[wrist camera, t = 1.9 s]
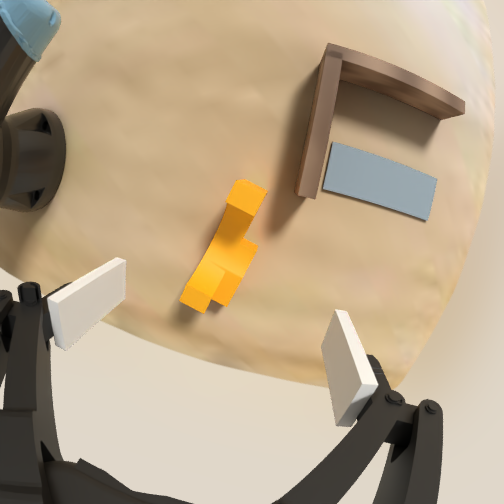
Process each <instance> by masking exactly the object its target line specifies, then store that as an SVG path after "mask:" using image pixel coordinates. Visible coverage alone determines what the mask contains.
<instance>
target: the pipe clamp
mask: <svg viewBox="0 0 504 504" xmlns="http://www.w3.org/2000/svg"><path fill="white" fill-rule="evenodd" d="M267 192H268V191H267V190H265V189H263V188H261V187H259V186H257V185H255V184H253V183H251V182H249V181H247V180H245V179H244V180H236V182H235V184H234V186H233V188H232V190H231V192H230V194H229V195H228V197H227V199H226V202H227V207H226V210H225V213H224V216H223V218H222V220H221V223H220V225H219V227H218V229H217V231H216V234H215V236H214V238H213V240H212V242H211V244H210V246H209V248H208V249H207V251H206V253H205V255H204V257H203V259H202V260H201V262H200V264H199V266H198V267H197V269H196V271H195V272H194V274H193V276H192V277H191V279H190V280H189V281H188V283H187V284H186V286H185V289H184V291H183V293H182V295H181V298H180V300H179V301H181V302H182V303H184V304H186V305H188V306H190V307H192V308H194V309H195V310H197V311H199V312H201V313H203V314H204V313H205V311H206V309H207V307H208V305H209V303H210V301H211V299H212V300H214V301H216V302H218V303H220V304H222V305H224V306H226V307H227V306H228V304H229V302H230V300H231V298H232V296H233V295H234V293H235V291H236V289H237V287H238V285H239V284H240V282H241V280H242V278H243V276H244V274H245V272H246V270H247V268H248V266H249V264H250V262H251V261H252V259H253V257H254V255H255V253H256V251H257V248H258V246H257V245H256V244H254V243H252V242H250V241H248V240H246V239H244V238H243V237H244V235H245V233H246V232H247V230H248V228H249V226H250V224H251V222H252V220H253V218H254V216H255V214H256V213H257V211H258V209H259V207H260V205H261V203H262V201H263V199H264V197H265V196H266V194H267Z"/></svg>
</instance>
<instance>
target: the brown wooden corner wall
mask: <svg viewBox="0 0 504 504" xmlns="http://www.w3.org/2000/svg"><path fill="white" fill-rule="evenodd" d="M339 80H343V81H346V82H349V83H352V84H356V85H359V86H362V87H365V88H368V89H370V90H373V91H376V92H379V93H381V94H384V95H386V96H389V97H392V98H394V99H396V100H399V101H401V102H404V103H406V104H408V105H410V106H413V107H415V108H417V109H419V110H421V111H424V112H426V113H428V114H430V115H432V116H434V117H436V118H438V119H440V120H443V119H447V118H451V117H455V116H459V115H463V114H465V101H463V100H462V99H460V98H458V97H457V96H455V95H453V94H451V93H450V92H448V91H446V90H444V89H443V88H441V87H439V86H437V85H435V84H433V83H431V82H430V81H428V80H426V79H424V78H422V77H420V76H417V75H415V74H413V73H411V72H409V71H407V70H404V69H402V68H400V67H398V66H395V65H393V64H390V63H388V62H385V61H383V60H380V59H378V58H375V57H372V56H369V55H366V54H364V53H361V52H358V51H354V50H351V49H348V48H345V47H341V46H338V45H334V44H331V43H328V44H327V47H326V49H325V52H324V54H323V57H322V60H321V62H320V67H319V73H318V78H317V84H316V89H315V94H314V99H313V104H312V110H311V115H310V120H309V125H308V129H307V134H306V139H305V144H304V149H303V154H302V158H301V163H300V168H299V172H298V177H297V181H296V186H295V190H294V192H295V193H296V194H297V195H299V196H303V197H308V198H312V199H316V194H317V190H318V186H319V181H320V177H321V172H322V167H323V163H324V158H325V153H326V148H327V144H328V139H329V134H330V128H331V123H332V118H333V113H334V107H335V102H336V96H337V90H338V84H339Z"/></svg>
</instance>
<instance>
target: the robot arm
mask: <svg viewBox="0 0 504 504" xmlns="http://www.w3.org/2000/svg"><path fill="white" fill-rule="evenodd" d="M60 24H61V16H60V13H59V12H58V11H57V10H56V9H55V8H54V7H53V6H52V5H50V4H49V3H48V2H47V1H46V0H0V207H1V208H6V209H10V210H15V211H20V212H29V211H33V210H37V209H40V208H42V207H44V206H45V205H46V204H47V203H48V202H49V201H50V200H51V199H52V197H53V196H54V194H55V192H56V190H57V188H58V186H59V183H60V180H61V177H62V173H63V169H64V163H65V154H66V143H65V134H64V129H63V126H62V123H61V121H60V119H59V118H58V116H57V115H56V114H55V113H54V112H52V111H50V110H47V109H40V108H32V109H28V110H25V111H21V112H18V113H15V114H12V115H9V116H6V115H7V113H8V111H9V109H10V107H11V105H12V103H13V101H14V99H15V97H16V95H17V93H18V91H19V89H20V88H21V86H22V84H23V82H24V81H25V79H26V77H27V76H28V74H29V72H30V71H31V69H32V68H33V66H34V65H35V63H36V62H39V60H40V59H41V55H42V53H43V52H44V50H45V49H46V47H47V46H48V44H49V43H50V41H51V40H52V38H53V37H54V36H55V34H56V33H57V31H58V30H59V27H60ZM125 284H126V260H124V259H121V258H117V257H116V258H114V259H113V260H111V261H109V262H107V263H105V264H104V265H102V266H100V267H98V268H97V269H95V270H93V271H91V272H90V273H88V274H86V275H84V276H83V277H81V278H79V279H78V280H76V281H74V282H70V283H67V284H64V285H63V286H61V287H59V288H58V289H56V290H55V291H53V292H51V293H49V294H48V295H46V296H44V297H43V298H41V290H40V285H39V284H38V283H36V282H25V283H22V284H20V285H19V286H18V295H19V300H20V302H17V301H13V298H12V293H11V292H10V291H7V290H0V387H1V384H2V381H3V379H4V376H5V374H6V378H5V389H4V404H3V410H1V409H0V504H192V503H189V502H185V501H181V500H178V499H175V498H171V497H168V496H161V495H153V494H146V493H141V492H135V491H132V490H130V489H129V488H127V487H126V486H125V485H123V484H122V483H120V482H119V481H118V480H116V479H115V478H113V477H112V476H111V475H109V474H108V473H107V472H105V471H104V470H102V469H99V468H97V467H96V466H94V465H92V464H90V463H88V462H86V461H84V460H82V459H81V458H80V459H79V461H78V462H77V463H73V462H69V461H64V460H63V458H62V456H61V453H60V449H59V444H58V439H57V432H56V425H55V418H54V410H53V401H52V389H51V364H50V363H51V361H50V341H49V339H50V338H52V337H53V336H54V340H55V345H56V346H58V347H60V348H61V349H63V350H65V351H66V350H68V349H69V348H70V347H71V346H72V345H73V344H74V343H75V342H76V341H78V340H79V339H80V338H81V337H82V336H83V335H84V334H85V333H86V332H88V331H89V330H90V329H91V328H92V327H93V326H94V325H95V324H96V323H98V322H99V321H100V320H101V319H102V318H103V317H104V316H106V315H107V314H108V313H109V312H110V311H111V310H113V309H114V308H115V307H116V306H117V305H118V304H119V303H121V302H122V301H123V300H124V299H125ZM321 349H322V353H323V358H324V363H325V368H326V373H327V379H328V384H329V389H330V394H331V400H332V406H333V411H334V417H335V423H336V426H346V427H351V426H352V425H353V423H354V422H355V421H356V419H357V421H358V422H357V423H356V425H355V426H354V427H353V428H352V429H351V430H350V432H349V433H348V434H347V435H346V436H345V437H344V438H343V440H342V441H341V442H340V443H339V444H338V445H337V446H336V447H335V448H334V449H333V451H332V452H330V454H329V455H328V456H327V457H326V458H325V459H324V460H323V461H322V462H321V463H320V464H319V465H318V466H316V468H314V469H313V470H312V471H311V472H310V473H309V474H308V475H307V476H306V477H305V478H304V479H303V480H301V482H299V483H298V484H297V485H296V486H295V487H293V488H292V489H291V490H290V491H289V492H288V493H286V494H285V495H284V496H283V497H282V498H280V499H279V500H277V501H275V502H273V503H272V504H337V503H338V502H339V501H340V499H341V498H342V497H343V496H344V495H345V493H346V492H347V491H348V490H349V489H350V488H351V486H352V485H353V484H354V482H355V481H356V480H357V479H358V477H359V476H360V475H361V474H362V472H363V471H364V470H365V468H366V467H367V465H368V464H369V463H370V461H371V460H372V458H373V457H374V456H375V454H376V453H377V451H378V450H379V448H380V447H381V445H382V443H383V442H386V443H390V444H391V445H390V449H389V453H388V457H387V460H386V464H385V467H384V471H383V474H382V477H381V481H380V484H379V487H378V490H377V493H376V496H375V498H374V501H373V504H437V499H438V492H439V485H440V476H441V465H442V464H441V463H442V446H443V412H442V408H441V407H440V405H439V404H438V403H436V402H435V401H432V400H428V399H426V400H423V401H421V403H420V404H419V405H418V406H414V405H410V404H406V403H405V399H404V398H403V396H402V395H401V394H400V393H398V392H396V391H394V390H391V388H390V386H389V383H388V381H387V379H386V376H385V374H384V372H383V370H382V369H381V365H380V363H379V361H378V360H377V359H376V358H375V357H374V356H373V355H366V354H365V351H364V349H363V347H362V344H361V342H360V340H359V337H358V335H357V333H356V331H355V328H354V326H353V324H352V322H351V319H350V317H349V315H348V313H347V311H342V310H337V309H335V311H334V314H333V317H332V319H331V322H330V325H329V327H328V330H327V333H326V335H325V338H324V340H323V343H322V345H321Z"/></svg>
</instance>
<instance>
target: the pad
mask: <svg viewBox="0 0 504 504" xmlns="http://www.w3.org/2000/svg"><path fill="white" fill-rule="evenodd" d="M436 183H437V179H436V178H434V177H432V176H429V175H427V174H425V173H422V172H420V171H417V170H415V169H412V168H410V167H407V166H405V165H402V164H400V163H397V162H394V161H391V160H389V159H386V158H383V157H380V156H377V155H374V154H371V153H368V152H365V151H362V150H359V149H356V148H353V147H349V146H346V145H343V144H339V143H336V142H332V147H331V152H330V157H329V161H328V166H327V171H326V175H325V180H324V184H323V189H325V190H329V191H333V192H337V193H340V194H344V195H348V196H351V197H355V198H358V199H362V200H365V201H368V202H372V203H375V204H378V205H382V206H385V207H388V208H391V209H394V210H397V211H400V212H403V213H406V214H409V215H412V216H415V217H418V218H421V219H424V220H427V221H428V218H429V214H430V210H431V206H432V202H433V197H434V192H435V188H436Z"/></svg>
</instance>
